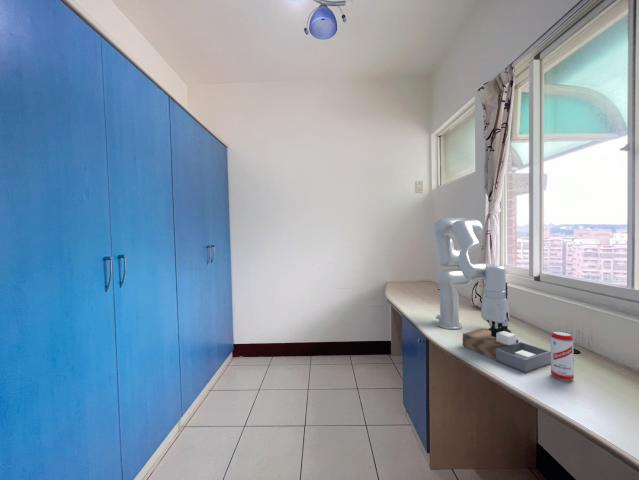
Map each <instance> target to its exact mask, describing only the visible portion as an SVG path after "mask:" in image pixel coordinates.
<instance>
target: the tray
mask: <svg viewBox="0 0 639 480" xmlns="http://www.w3.org/2000/svg"><path fill="white" fill-rule="evenodd" d="M521 350H524V351H527V352H530V353H533V354H536V355H535V356H533V357H530V358H527V359H523V358H521V357H518V356H515V352H517V351H521ZM495 361H496V362H497V363H500V365H501V364H502V365H504V366H506V367H509V368H512V369H514V370H517V371H519V372H522V373H524V374H528V373H531V372H534V371H537V370H539V369H541V368H545V367H547V366H549V365H550V366H551V350H548V349H545V348H541V347H538V346H535V345H532V344H528V343H525V342H522V341H518V343H515V344H512V345H508V346H505V347H501V348H498V349H496V360H495Z"/></svg>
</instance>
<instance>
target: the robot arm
mask: <svg viewBox="0 0 639 480" xmlns="http://www.w3.org/2000/svg"><path fill="white" fill-rule="evenodd" d="M432 229H433V235H434V238H435V241H436V246H437V255H438V261H439V265H440V266H441V267H446V269H442V270H440V271H439V272H438V273H437V282H438V287H439V314H437V315H436V316H435V319H437V320H438V321H437V324H436V325H437V326H438V327H440V328H443V329H446V330H459V329H462V328H463V324H462V323H461V322H460V311H459V310H460V307H459V305H460V304H459V302H460V301H459V299H460V297H459V293H458V291H457V290H456V288H455V287H466V286H469V285H470V284H471V283H472V281H484V289H483V290H482V292H483V293H484V295H483V296H482V301H481V305H480V306H481V307H480V315H481V318H482V320H484V321H485V322H487V324H488V325H489V328H491V336H492V337H495V338H496V333H498V332H500V328H501V327H502V326H508V327H509V326H510V324H509V322H510V307H509V301H507V300H508V298H507V299H506V284H505V282H506V268H505V267H504V266H503V265H495V264H493V263H486V262H484V263H471V260H470V256H469V254H471V253H472V252H474V251H476V250H477V249H478V248H479V247H480V242H479V240H478V238H477V236H478V237H479V236H480V235H481V234H483V231H484V227H483V224H482V222H481V221H480V220H478V219H475V218H473V219H472V218H468V217H443V218H438V219H437V220H436V221H435V222H434V224H433V228H432ZM449 234H453V235H454V238H455V239H456V241H457V244H458V245H459V247H460V248H459V249H455V244H454V240H453V239H452V237H451V236H450V235H449ZM449 267H454V268H449ZM455 267H457V268H455ZM448 268H449V269H448Z"/></svg>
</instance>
